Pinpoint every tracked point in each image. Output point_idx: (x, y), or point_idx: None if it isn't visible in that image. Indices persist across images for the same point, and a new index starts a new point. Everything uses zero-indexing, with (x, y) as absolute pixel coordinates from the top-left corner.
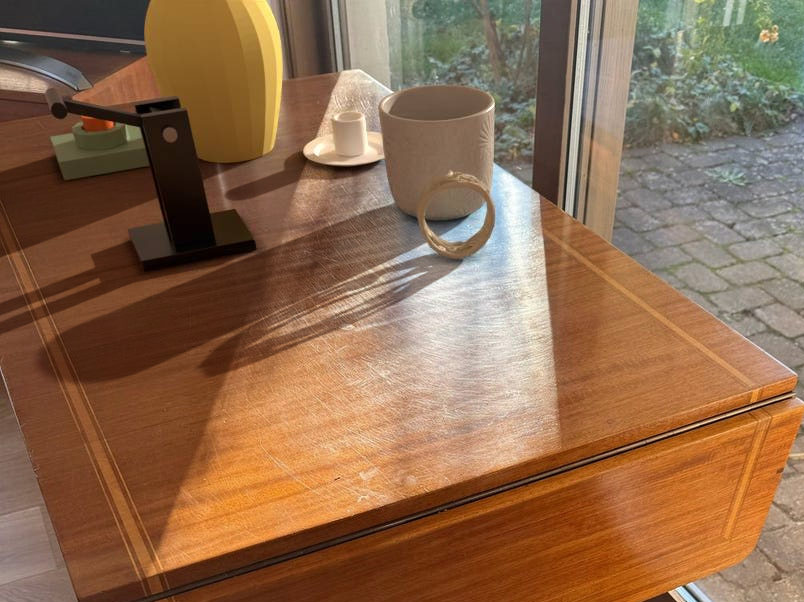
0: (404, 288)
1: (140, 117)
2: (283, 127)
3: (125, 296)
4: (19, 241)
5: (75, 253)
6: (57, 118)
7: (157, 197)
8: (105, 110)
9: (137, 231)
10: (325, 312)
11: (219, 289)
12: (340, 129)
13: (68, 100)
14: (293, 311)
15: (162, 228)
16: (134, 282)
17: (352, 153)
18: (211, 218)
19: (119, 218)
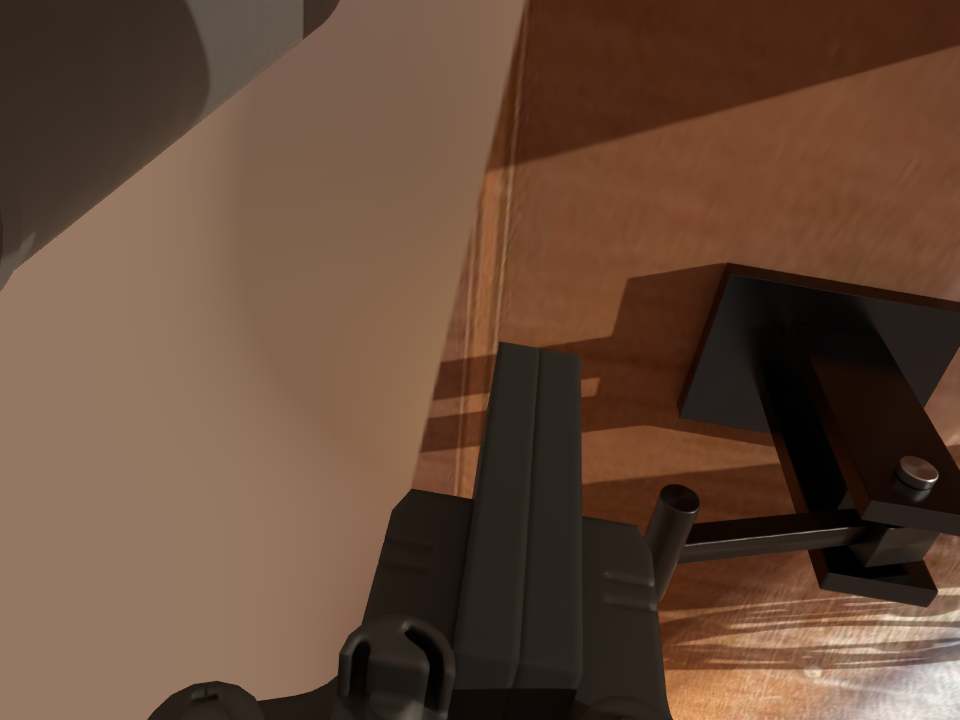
0: (954, 646)
1: (836, 546)
2: None
3: (610, 457)
4: (519, 116)
5: (603, 254)
6: None
7: (809, 360)
8: (764, 554)
9: (740, 300)
10: (819, 636)
11: (744, 516)
12: None
13: (692, 555)
14: (787, 614)
15: (790, 317)
16: (644, 425)
17: None
18: (901, 331)
19: (769, 130)
